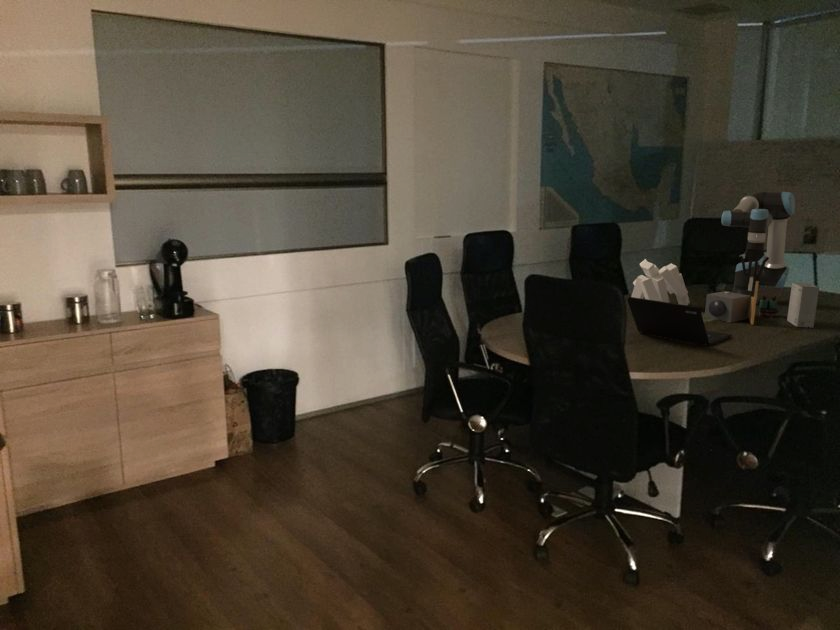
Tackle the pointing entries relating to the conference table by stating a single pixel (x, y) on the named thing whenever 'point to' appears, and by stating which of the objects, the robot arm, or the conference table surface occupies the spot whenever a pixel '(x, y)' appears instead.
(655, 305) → the laptop
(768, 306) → the binoculars
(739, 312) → the grey box with knob
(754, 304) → the bent orange bar
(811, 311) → the hard drive box
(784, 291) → the conference table surface
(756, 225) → the robot arm
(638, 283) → the pile of blocks
